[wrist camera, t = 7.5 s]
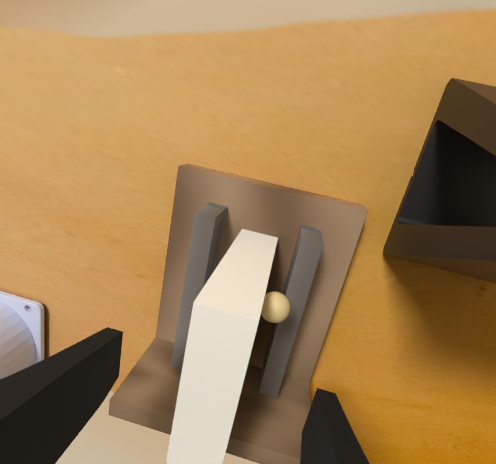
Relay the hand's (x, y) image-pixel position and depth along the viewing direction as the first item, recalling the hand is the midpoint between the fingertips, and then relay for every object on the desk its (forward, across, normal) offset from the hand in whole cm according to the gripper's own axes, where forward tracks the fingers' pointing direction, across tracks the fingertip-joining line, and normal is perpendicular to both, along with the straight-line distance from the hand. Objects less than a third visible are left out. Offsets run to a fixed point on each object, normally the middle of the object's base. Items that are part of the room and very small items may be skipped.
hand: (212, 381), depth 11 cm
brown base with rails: (+9, 0, 0) cm, 9 cm away
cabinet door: (+7, 0, 0) cm, 7 cm away
